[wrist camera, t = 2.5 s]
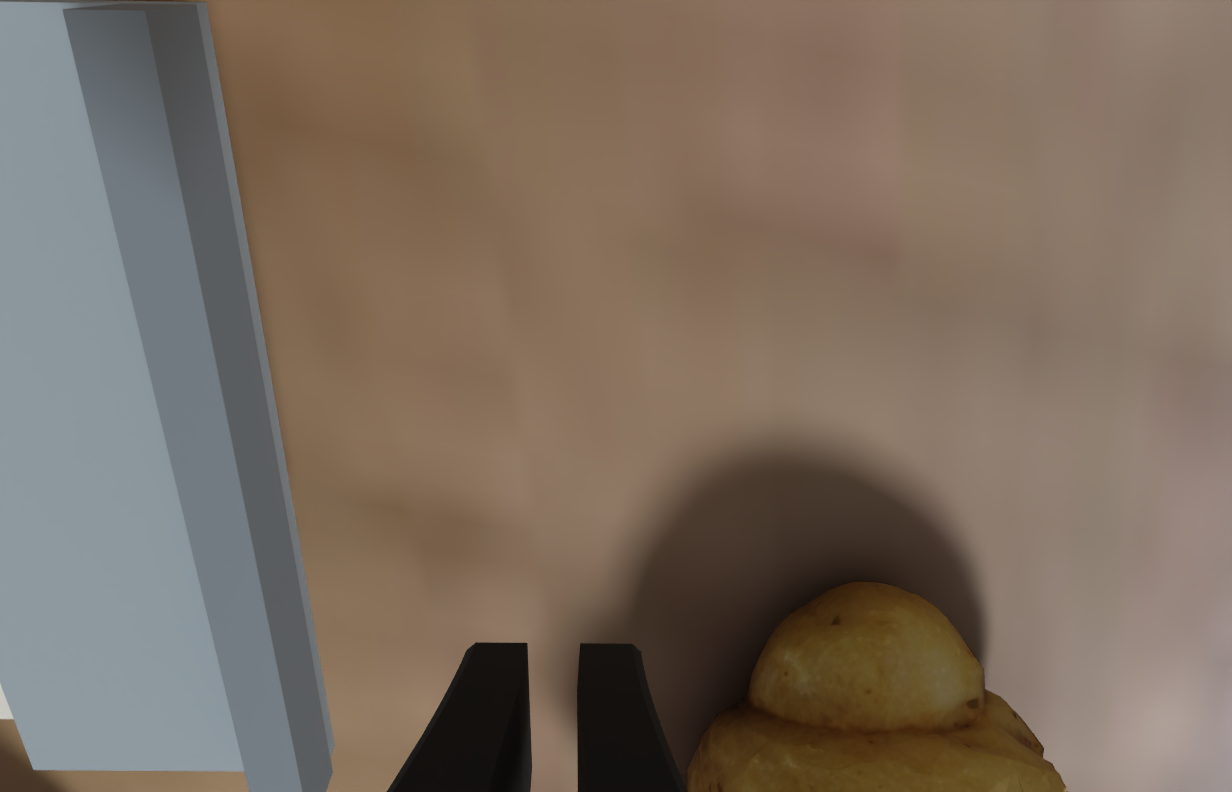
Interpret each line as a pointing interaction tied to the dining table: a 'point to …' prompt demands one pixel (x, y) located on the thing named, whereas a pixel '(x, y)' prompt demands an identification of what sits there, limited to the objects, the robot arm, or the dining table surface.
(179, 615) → the flap
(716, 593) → the dining table surface
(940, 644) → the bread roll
